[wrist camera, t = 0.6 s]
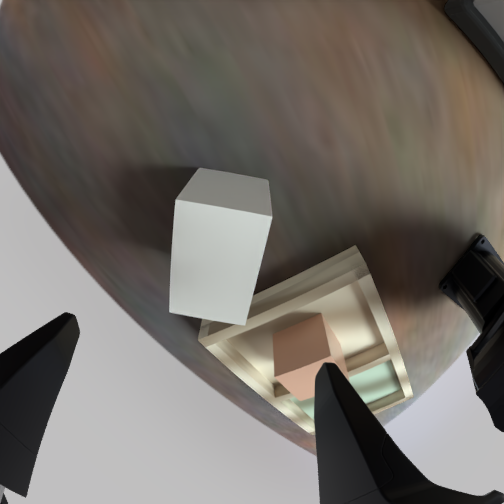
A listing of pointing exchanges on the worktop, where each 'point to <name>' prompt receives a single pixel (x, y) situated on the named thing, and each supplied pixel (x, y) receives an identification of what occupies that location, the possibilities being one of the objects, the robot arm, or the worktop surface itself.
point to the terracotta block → (305, 355)
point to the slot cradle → (340, 321)
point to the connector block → (218, 245)
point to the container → (482, 27)
